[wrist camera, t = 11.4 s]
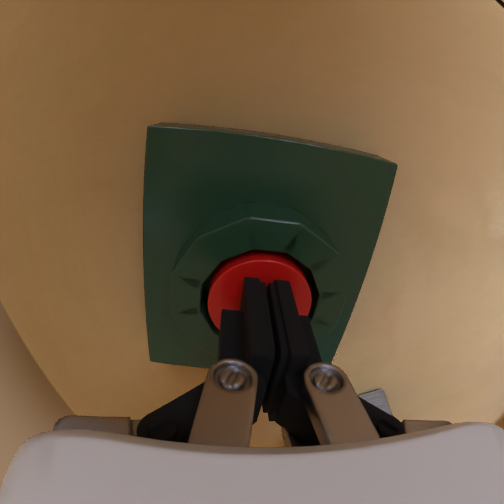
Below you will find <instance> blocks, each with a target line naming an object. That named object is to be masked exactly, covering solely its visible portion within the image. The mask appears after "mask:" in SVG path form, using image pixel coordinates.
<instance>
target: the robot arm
mask: <svg viewBox="0 0 504 504" xmlns="http://www.w3.org/2000/svg"><path fill="white" fill-rule="evenodd" d="M261 405H262V408H263V412H264V413H268V417H269V421H275V422H276V423H277V424H279V425H280V426H282V436H283V439H284V442H285V445H286V447H249V445H250V438H251V430H252V425H253V424H254V423H255V422H256V421H257V418H258V415H259V412H260V408H261ZM0 504H504V429H502V428H501V427H499V426H497V425H494V424H491V423H484V422H462V423H454V424H452V423H450V422H448V421H429V420H403V421H402V422H400V421H399V420H398V419H396V418H395V417H393V416H392V415H390V414H388V413H386V412H385V411H383V410H381V409H379V408H378V407H376V406H374V405H373V404H371V403H369V402H367V401H366V400H364V399H362V398H361V397H359V396H358V395H357V394H356V392H355V390H354V388H353V386H352V384H351V382H350V381H349V379H348V377H347V375H346V374H345V373H344V371H343V370H341V369H340V368H339V367H337V366H335V365H333V364H330V363H326V362H322V360H321V356H320V353H319V350H318V346H317V343H316V340H315V337H314V333H313V330H312V327H311V324H310V320H309V318H308V316H305V315H299V313H298V309H297V306H296V302H295V299H294V295H293V292H292V288H291V285H290V282H289V281H285V280H274V282H273V283H268V287H267V292H266V286H265V282H260V278H253V277H245V278H244V284H243V290H242V297H241V304H240V310H228V309H222V312H221V321H220V331H219V343H218V361H217V362H215V363H214V364H213V365H211V367H210V369H209V371H208V374H207V377H206V381H205V382H204V383H202V384H200V385H199V386H197V387H195V388H194V389H192V390H190V391H188V392H187V393H185V394H183V395H182V396H180V397H178V398H176V399H175V400H173V401H171V402H169V403H168V404H166V405H164V406H162V407H161V408H159V409H157V410H155V411H153V412H151V413H150V414H148V415H146V416H145V417H144V418H142V419H141V420H131V419H130V417H99V416H77V415H71V416H65V417H62V418H60V419H59V420H58V421H57V422H56V423H55V425H54V428H53V431H48V432H43V433H39V434H36V435H34V436H32V437H30V438H29V439H27V440H26V441H25V442H24V443H23V444H22V445H21V447H20V448H19V449H18V451H17V452H16V454H15V456H14V457H13V459H12V461H11V463H10V466H9V468H8V470H7V473H6V475H5V477H4V480H3V482H2V485H1V488H0Z"/></svg>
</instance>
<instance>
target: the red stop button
mask: <svg viewBox="0 0 504 504" xmlns="http://www.w3.org/2000/svg"><path fill="white" fill-rule="evenodd" d="M245 277H253V278H260V282H265V286H266V292H267V287H268V283H273V282H274V280H285V281H289V282H290V285H291V288H292V292H293V295H294V299H295V302H296V306H297V309H298V313H299V315H305V316H308V314H309V311H310V308H311V301H312V297H311V291H310V287H309V284H308V282H307V279H306V276H305V274H304V271H303V268H302V266H301V264H300V262H299V261H297V260H296V259H294V258H293V257H292V256H290V255H289V254H287V253H283V252H274V251H265V250H256V249H253V250H250V251H247V252H245V253H242V254H239V255H237V256H234V257H232V258H229V259H226V260H224V261H221V262H220V263H219V265H218V266H217V267H216V268H215V270H214V271H213V272H212V273H211V278H210V286H209V294H208V311H209V314H210V317H211V319H212V321H213V323H214V324H215V325H216V327H217V328H218V329H219V330H220V321H221V312H222V309H228V310H240V304H241V297H242V290H243V284H244V278H245Z"/></svg>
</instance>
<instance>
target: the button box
mask: <svg viewBox="0 0 504 504" xmlns="http://www.w3.org/2000/svg"><path fill="white" fill-rule="evenodd" d="M396 170H397V164H396V163H394V162H391V161H389V160H387V159H385V158H382V157H380V156H378V155H374V154H370V153H366V152H362V151H358V150H354V149H349V148H345V147H341V146H336V145H331V144H326V143H321V142H316V141H311V140H306V139H300V138H295V137H289V136H283V135H277V134H270V133H264V132H257V131H249V130H241V129H233V128H224V127H215V126H204V125H193V124H179V123H158V124H154V125H150V126H148V127H147V139H146V153H145V170H144V196H143V265H144V290H145V308H146V322H147V334H148V345H149V355H150V361H152V362H159V363H166V364H174V365H182V366H190V367H199V368H209V369H210V367H211V365H213V364H214V363H215V362H217V361H218V343H219V331H220V330H219V329H218V328H217V327H216V325H215V324H214V323H213V321H212V319H211V317H210V314H209V311H208V294H209V286H210V278H211V273H212V272H213V271H214V270H215V268H216V267H217V266H218V265H219V263H220V262H221V261H224V260H226V259H229V258H232V257H234V256H237V255H239V254H242V253H245V252H247V251H250V250H253V249H256V250H265V251H274V252H283V253H287V254H289V255H290V256H292V257H293V258H294V259H296V260H297V261H299V262H300V264H301V266H302V268H303V271H304V274H305V276H306V279H307V282H308V284H309V287H310V291H311V297H312V301H311V308H310V311H309V314H308V318H309V320H310V324H311V327H312V330H313V333H314V337H315V340H316V343H317V346H318V350H319V353H320V356H321V360H322V362H326V363H330V364H331V362H332V360H333V357H334V355H335V353H336V350H337V348H338V346H339V343H340V341H341V338H342V336H343V334H344V331H345V329H346V326H347V324H348V321H349V319H350V316H351V313H352V311H353V308H354V306H355V303H356V300H357V298H358V295H359V292H360V289H361V287H362V284H363V281H364V278H365V275H366V272H367V269H368V267H369V264H370V261H371V258H372V254H373V251H374V248H375V245H376V242H377V239H378V236H379V232H380V229H381V226H382V222H383V219H384V215H385V212H386V208H387V205H388V201H389V197H390V194H391V190H392V186H393V182H394V178H395V174H396Z"/></svg>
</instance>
